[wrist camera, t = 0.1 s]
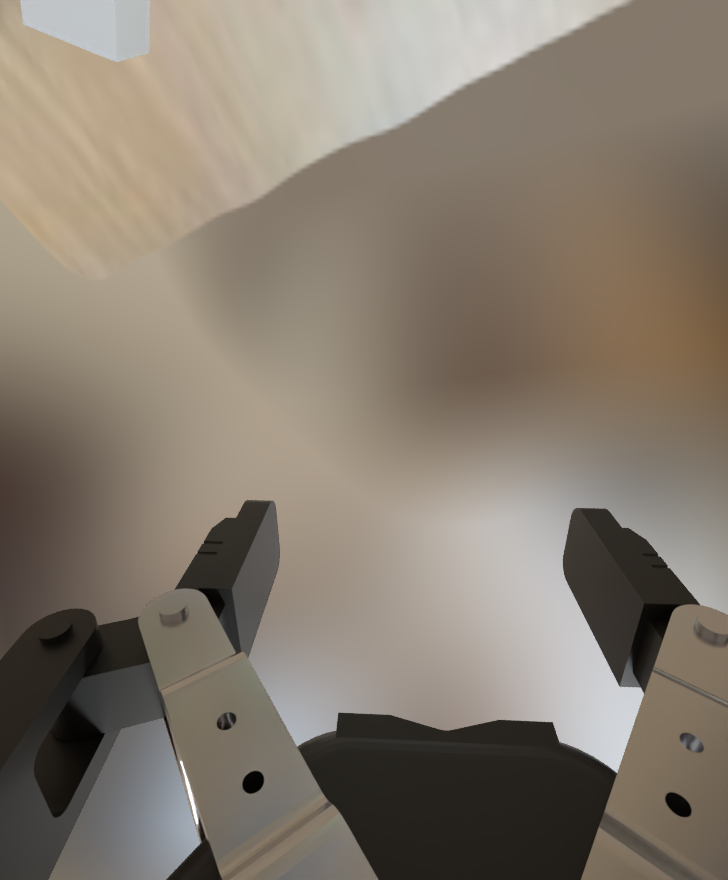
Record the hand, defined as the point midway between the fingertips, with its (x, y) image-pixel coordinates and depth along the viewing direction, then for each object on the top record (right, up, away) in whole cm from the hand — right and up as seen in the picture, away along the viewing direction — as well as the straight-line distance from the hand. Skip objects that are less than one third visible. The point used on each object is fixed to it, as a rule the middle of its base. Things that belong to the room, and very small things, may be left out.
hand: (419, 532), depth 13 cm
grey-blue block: (-17, +30, +16) cm, 38 cm away
